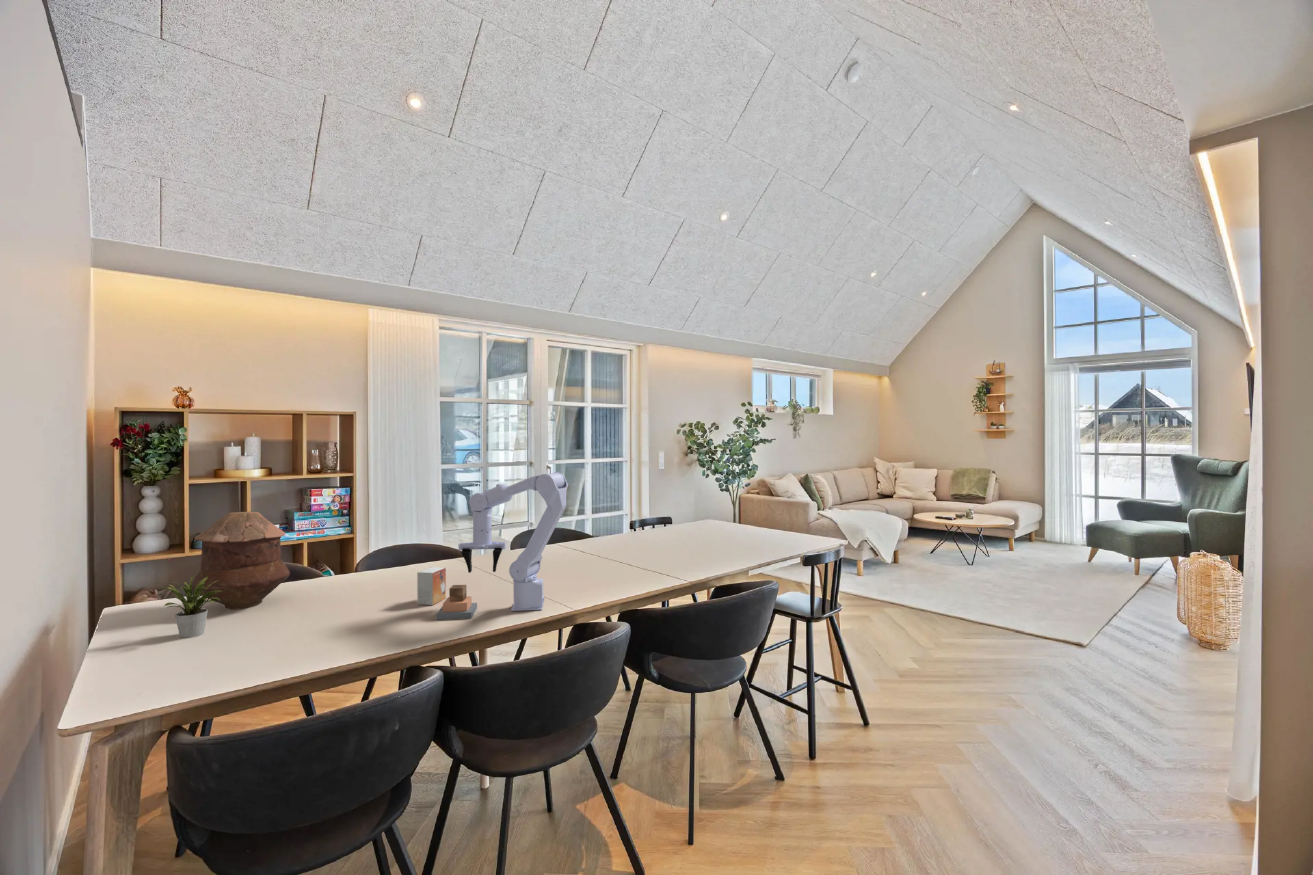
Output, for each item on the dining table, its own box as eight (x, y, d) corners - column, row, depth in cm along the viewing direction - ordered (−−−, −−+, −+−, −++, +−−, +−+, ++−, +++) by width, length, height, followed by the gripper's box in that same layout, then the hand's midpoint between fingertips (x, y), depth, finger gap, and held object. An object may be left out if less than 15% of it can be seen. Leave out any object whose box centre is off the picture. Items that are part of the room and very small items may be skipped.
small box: (432, 605, 187) (432, 572, 187) (416, 604, 188) (416, 572, 188) (446, 598, 195) (446, 567, 195) (431, 597, 196) (431, 566, 196)
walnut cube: (466, 597, 180) (466, 584, 180) (462, 601, 176) (462, 588, 176) (453, 597, 180) (453, 584, 180) (449, 601, 176) (449, 588, 176)
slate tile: (477, 610, 183) (477, 602, 183) (471, 620, 174) (471, 612, 174) (444, 612, 182) (444, 604, 182) (436, 622, 172) (436, 613, 172)
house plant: (164, 649, 149) (164, 585, 149) (144, 639, 156) (143, 578, 156) (229, 633, 161) (228, 574, 161) (207, 624, 169) (206, 568, 169)
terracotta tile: (471, 604, 182) (471, 596, 182) (467, 611, 175) (467, 602, 175) (448, 605, 181) (448, 597, 181) (442, 612, 174) (442, 603, 174)
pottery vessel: (177, 621, 172) (176, 519, 172) (207, 598, 196) (207, 509, 195) (279, 611, 181) (279, 514, 181) (296, 590, 205) (296, 505, 205)
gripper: (456, 532, 184) (456, 575, 184) (503, 531, 185) (503, 573, 186) (460, 528, 191) (460, 569, 191) (506, 527, 192) (506, 568, 193)
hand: (482, 571), depth 189 cm, fingers open, 7 cm apart
